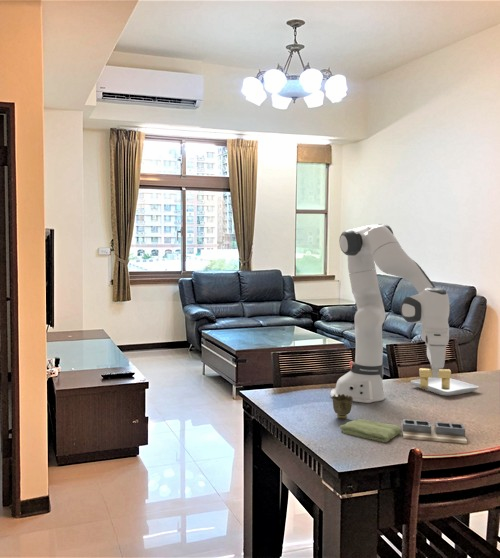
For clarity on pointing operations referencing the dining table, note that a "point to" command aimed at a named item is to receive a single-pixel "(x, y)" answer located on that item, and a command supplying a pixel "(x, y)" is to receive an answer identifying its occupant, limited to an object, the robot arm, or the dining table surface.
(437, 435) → the chain board
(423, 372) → the tan bar
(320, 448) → the dining table surface
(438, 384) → the salad plate
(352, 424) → the washcloth
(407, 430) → the chain ends
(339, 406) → the cup
